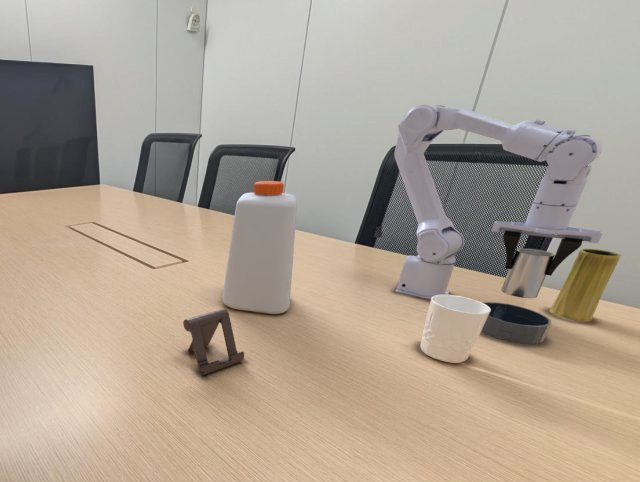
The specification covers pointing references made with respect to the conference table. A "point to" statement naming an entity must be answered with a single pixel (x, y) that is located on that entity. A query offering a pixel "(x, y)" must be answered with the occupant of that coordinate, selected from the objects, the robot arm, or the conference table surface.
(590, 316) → the vase
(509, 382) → the conference table surface
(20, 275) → the conference table surface
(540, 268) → the silver cup
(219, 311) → the tablet stand
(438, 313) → the white cup
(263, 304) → the plastic bottle
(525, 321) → the dark grey shallow bowl
